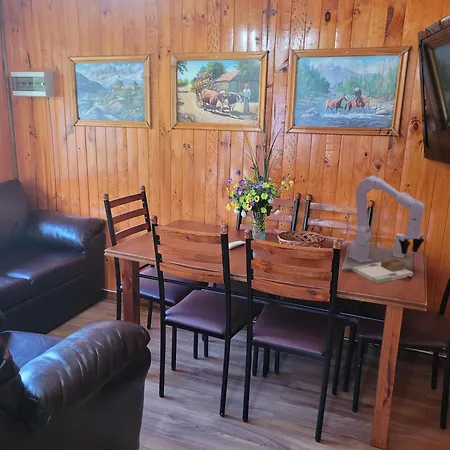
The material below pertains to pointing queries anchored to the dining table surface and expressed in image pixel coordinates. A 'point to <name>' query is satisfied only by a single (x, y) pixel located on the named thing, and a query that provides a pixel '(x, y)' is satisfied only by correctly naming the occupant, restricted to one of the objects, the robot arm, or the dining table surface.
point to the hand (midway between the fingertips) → (409, 252)
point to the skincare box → (398, 247)
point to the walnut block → (392, 264)
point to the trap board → (380, 273)
